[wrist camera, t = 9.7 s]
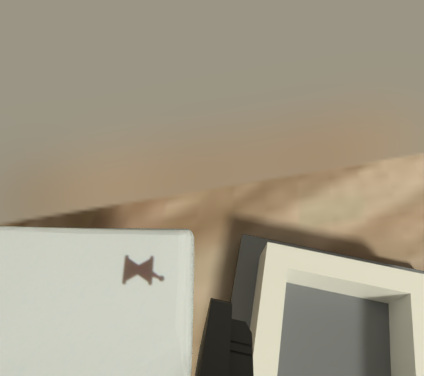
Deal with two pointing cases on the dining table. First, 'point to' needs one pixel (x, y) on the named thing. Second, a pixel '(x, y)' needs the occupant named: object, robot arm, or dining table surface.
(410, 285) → the socket plate
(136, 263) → the skincare box
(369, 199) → the dining table surface
